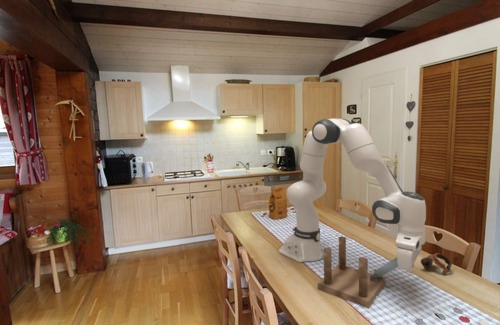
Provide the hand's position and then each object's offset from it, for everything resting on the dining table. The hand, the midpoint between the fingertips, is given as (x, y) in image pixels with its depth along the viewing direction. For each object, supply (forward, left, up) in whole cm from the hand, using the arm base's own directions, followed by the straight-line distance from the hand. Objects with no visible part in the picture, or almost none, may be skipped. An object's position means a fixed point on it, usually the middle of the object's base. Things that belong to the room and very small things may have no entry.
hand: (409, 271), depth 105 cm
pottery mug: (+4, +26, -10) cm, 29 cm away
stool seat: (-19, -7, -10) cm, 23 cm away
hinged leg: (-12, 0, -6) cm, 13 cm away
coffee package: (-95, +47, -10) cm, 107 cm away
